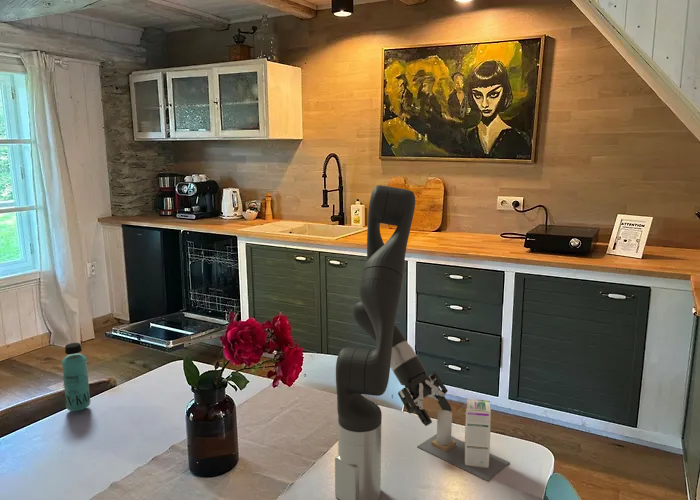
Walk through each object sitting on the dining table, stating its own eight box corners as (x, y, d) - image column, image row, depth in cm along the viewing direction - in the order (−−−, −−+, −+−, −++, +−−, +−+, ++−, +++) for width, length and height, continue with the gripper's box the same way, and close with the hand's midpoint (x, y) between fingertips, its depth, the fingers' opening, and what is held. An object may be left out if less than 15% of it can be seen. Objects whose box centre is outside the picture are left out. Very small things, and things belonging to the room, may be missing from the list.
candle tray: (487, 481, 124) (489, 445, 122) (417, 447, 138) (418, 414, 136) (509, 463, 131) (511, 428, 129) (440, 432, 145) (441, 401, 143)
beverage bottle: (66, 407, 158) (59, 342, 154) (92, 403, 161) (85, 338, 157) (65, 418, 152) (58, 350, 148) (92, 413, 155) (85, 346, 151)
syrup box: (489, 468, 128) (492, 411, 125) (463, 465, 129) (466, 409, 127) (488, 455, 134) (491, 400, 131) (463, 452, 135) (466, 397, 132)
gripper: (395, 364, 136) (431, 422, 131) (429, 348, 146) (464, 402, 141) (378, 377, 141) (413, 434, 135) (413, 361, 151) (446, 414, 145)
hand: (439, 418), depth 138 cm, fingers open, 8 cm apart
